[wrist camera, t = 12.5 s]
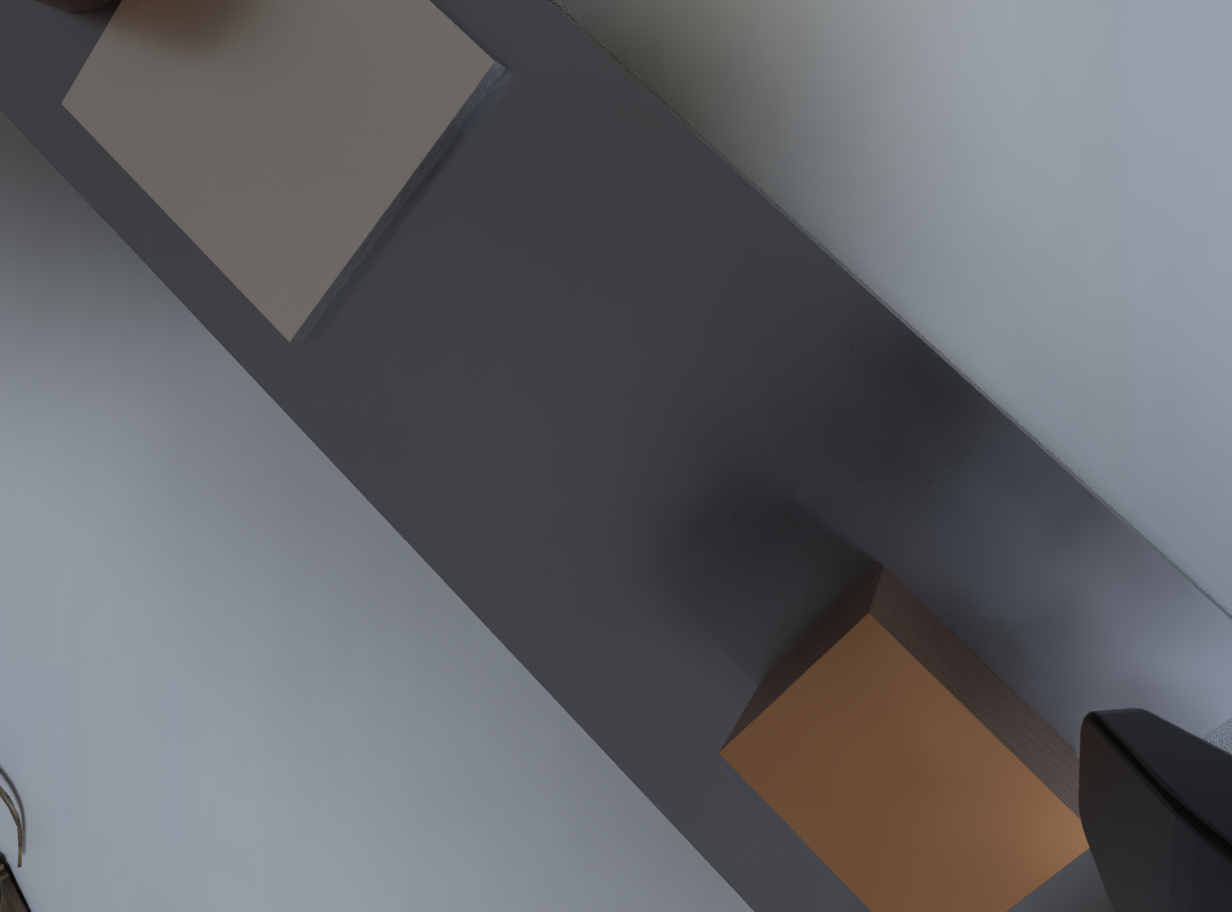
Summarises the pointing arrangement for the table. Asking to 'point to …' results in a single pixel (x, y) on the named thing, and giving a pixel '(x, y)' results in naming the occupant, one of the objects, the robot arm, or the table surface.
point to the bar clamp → (11, 902)
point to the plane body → (637, 428)
